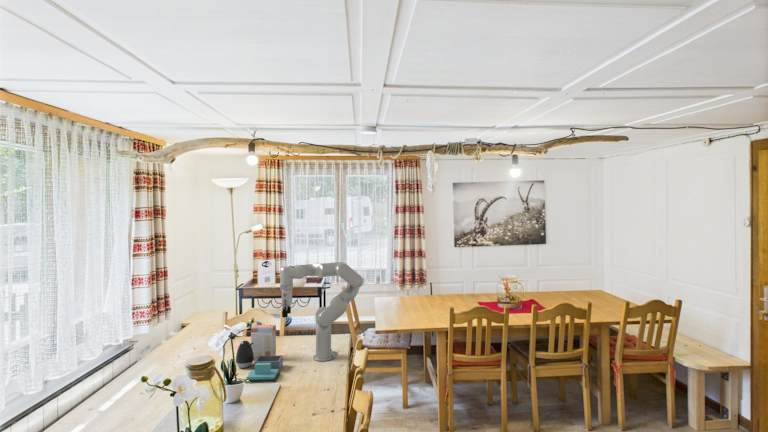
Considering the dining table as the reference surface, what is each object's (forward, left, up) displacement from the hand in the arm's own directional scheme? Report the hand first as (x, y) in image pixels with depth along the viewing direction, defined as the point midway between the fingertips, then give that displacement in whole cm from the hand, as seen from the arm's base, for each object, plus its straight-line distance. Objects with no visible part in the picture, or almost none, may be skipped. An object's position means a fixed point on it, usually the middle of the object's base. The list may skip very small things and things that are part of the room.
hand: (286, 315), depth 232 cm
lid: (+8, +24, -27) cm, 37 cm away
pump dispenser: (+23, +6, -28) cm, 37 cm away
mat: (+8, +24, -28) cm, 38 cm away
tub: (+8, +11, -28) cm, 31 cm away
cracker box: (+15, -5, -28) cm, 33 cm away
